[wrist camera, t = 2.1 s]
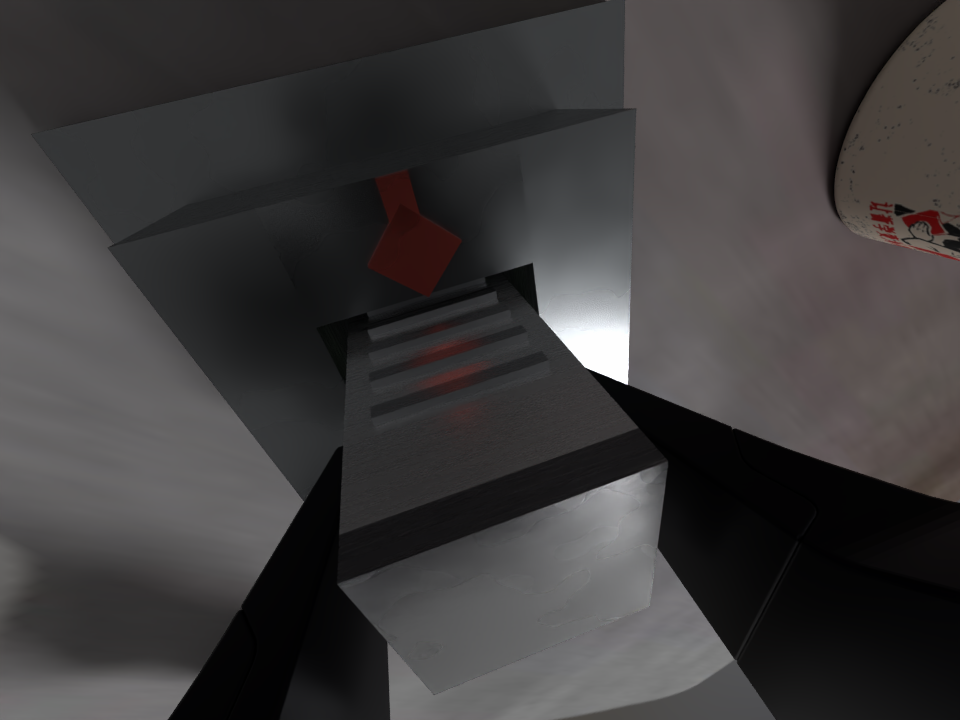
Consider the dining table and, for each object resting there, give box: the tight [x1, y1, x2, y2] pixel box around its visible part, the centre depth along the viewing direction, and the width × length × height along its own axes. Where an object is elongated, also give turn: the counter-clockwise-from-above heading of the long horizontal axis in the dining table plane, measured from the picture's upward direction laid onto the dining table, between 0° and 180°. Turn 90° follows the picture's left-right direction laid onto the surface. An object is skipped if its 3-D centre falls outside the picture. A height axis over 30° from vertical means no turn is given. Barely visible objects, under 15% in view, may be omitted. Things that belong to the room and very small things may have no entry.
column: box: [337, 272, 669, 695], centre depth 9 cm, size 4×4×9 cm
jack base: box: [31, 0, 636, 501], centre depth 12 cm, size 14×14×5 cm
